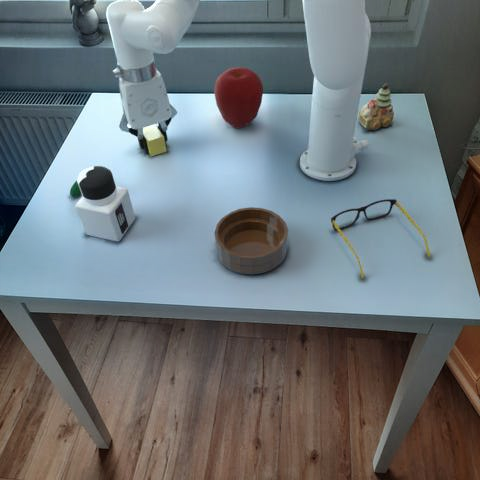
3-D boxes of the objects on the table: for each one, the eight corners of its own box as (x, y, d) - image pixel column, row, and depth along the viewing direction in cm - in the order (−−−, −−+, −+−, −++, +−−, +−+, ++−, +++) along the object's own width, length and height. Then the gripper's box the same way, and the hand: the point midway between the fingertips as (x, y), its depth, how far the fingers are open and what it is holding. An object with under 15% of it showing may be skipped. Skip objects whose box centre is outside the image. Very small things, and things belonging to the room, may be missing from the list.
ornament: (368, 135, 113) (376, 94, 105) (353, 123, 117) (359, 82, 109) (394, 125, 115) (404, 84, 107) (379, 114, 119) (387, 73, 111)
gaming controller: (112, 208, 104) (118, 181, 103) (102, 205, 100) (108, 177, 99) (78, 198, 106) (84, 171, 105) (67, 195, 103) (72, 167, 102)
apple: (263, 135, 115) (263, 80, 105) (216, 136, 116) (211, 82, 105) (262, 109, 122) (262, 55, 112) (218, 110, 123) (213, 57, 112)
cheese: (157, 139, 116) (154, 124, 113) (166, 151, 113) (163, 136, 110) (142, 144, 115) (139, 129, 112) (151, 156, 112) (147, 141, 109)
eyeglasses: (389, 211, 97) (393, 195, 94) (430, 257, 88) (436, 242, 85) (326, 229, 94) (328, 214, 91) (362, 279, 86) (366, 264, 83)
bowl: (265, 218, 97) (265, 199, 93) (300, 259, 90) (301, 240, 86) (205, 241, 94) (203, 222, 90) (236, 286, 86) (235, 267, 82)
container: (136, 218, 99) (121, 164, 88) (119, 243, 94) (101, 189, 84) (104, 211, 101) (85, 158, 90) (85, 235, 96) (64, 182, 86)
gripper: (105, 88, 95) (127, 166, 110) (181, 66, 99) (192, 144, 114) (94, 73, 99) (116, 150, 114) (167, 53, 103) (180, 129, 118)
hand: (154, 146), depth 114 cm, fingers closed on cheese, 4 cm apart
